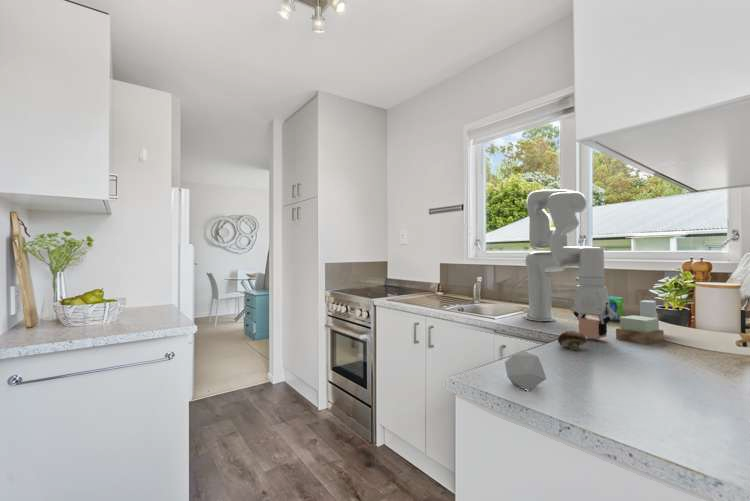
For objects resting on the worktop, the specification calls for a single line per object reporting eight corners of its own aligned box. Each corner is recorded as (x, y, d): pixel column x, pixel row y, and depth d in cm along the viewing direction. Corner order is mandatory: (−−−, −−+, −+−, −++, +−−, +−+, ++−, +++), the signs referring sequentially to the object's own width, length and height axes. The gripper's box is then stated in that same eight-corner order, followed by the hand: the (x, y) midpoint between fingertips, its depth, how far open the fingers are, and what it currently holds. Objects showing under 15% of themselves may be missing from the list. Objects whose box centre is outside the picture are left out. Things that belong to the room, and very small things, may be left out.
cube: (579, 335, 124) (578, 318, 124) (589, 333, 127) (588, 316, 127) (596, 339, 119) (596, 321, 119) (606, 336, 122) (606, 319, 122)
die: (555, 395, 77) (547, 353, 83) (535, 383, 73) (528, 339, 79) (520, 399, 82) (516, 359, 88) (500, 388, 78) (496, 347, 84)
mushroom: (584, 343, 105) (578, 324, 109) (557, 350, 110) (552, 331, 113) (593, 352, 110) (586, 333, 114) (567, 358, 114) (561, 339, 118)
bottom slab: (616, 340, 124) (615, 328, 124) (631, 336, 128) (630, 325, 128) (649, 346, 115) (648, 333, 115) (663, 341, 120) (663, 330, 120)
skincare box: (655, 335, 127) (654, 302, 127) (640, 333, 130) (639, 301, 131) (658, 332, 131) (657, 300, 132) (643, 331, 135) (642, 299, 135)
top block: (620, 328, 124) (620, 317, 124) (633, 326, 127) (632, 315, 127) (646, 332, 116) (646, 320, 116) (658, 330, 120) (658, 318, 120)
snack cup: (632, 322, 151) (631, 299, 151) (606, 322, 152) (605, 299, 152) (612, 316, 166) (612, 295, 166) (589, 316, 168) (588, 295, 168)
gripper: (561, 281, 129) (562, 329, 129) (611, 284, 114) (612, 339, 114) (574, 279, 133) (575, 327, 133) (624, 283, 117) (625, 336, 117)
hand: (592, 332), depth 123 cm, fingers closed on cube, 6 cm apart
